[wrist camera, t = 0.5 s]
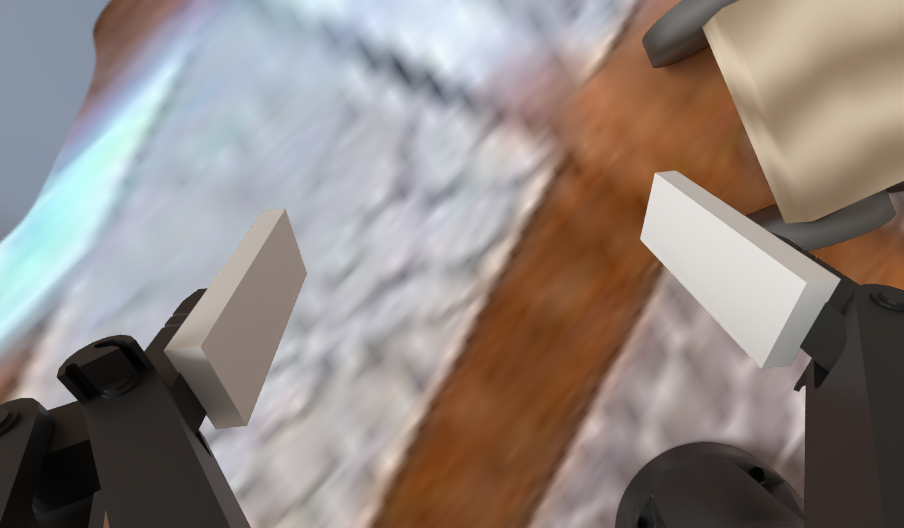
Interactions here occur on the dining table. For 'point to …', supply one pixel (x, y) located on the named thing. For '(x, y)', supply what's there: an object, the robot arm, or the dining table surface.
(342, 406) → the dining table surface
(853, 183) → the trolley
